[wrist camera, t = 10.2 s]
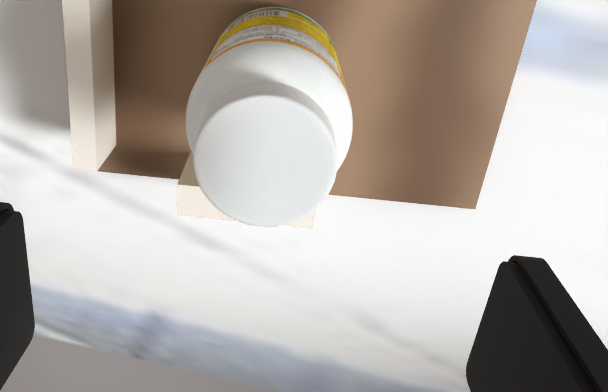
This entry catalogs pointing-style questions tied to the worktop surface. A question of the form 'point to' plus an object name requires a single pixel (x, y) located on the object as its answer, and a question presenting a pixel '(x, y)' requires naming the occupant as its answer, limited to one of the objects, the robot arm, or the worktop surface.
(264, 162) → the supplement bottle
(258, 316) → the worktop surface
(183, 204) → the holder
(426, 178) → the board
